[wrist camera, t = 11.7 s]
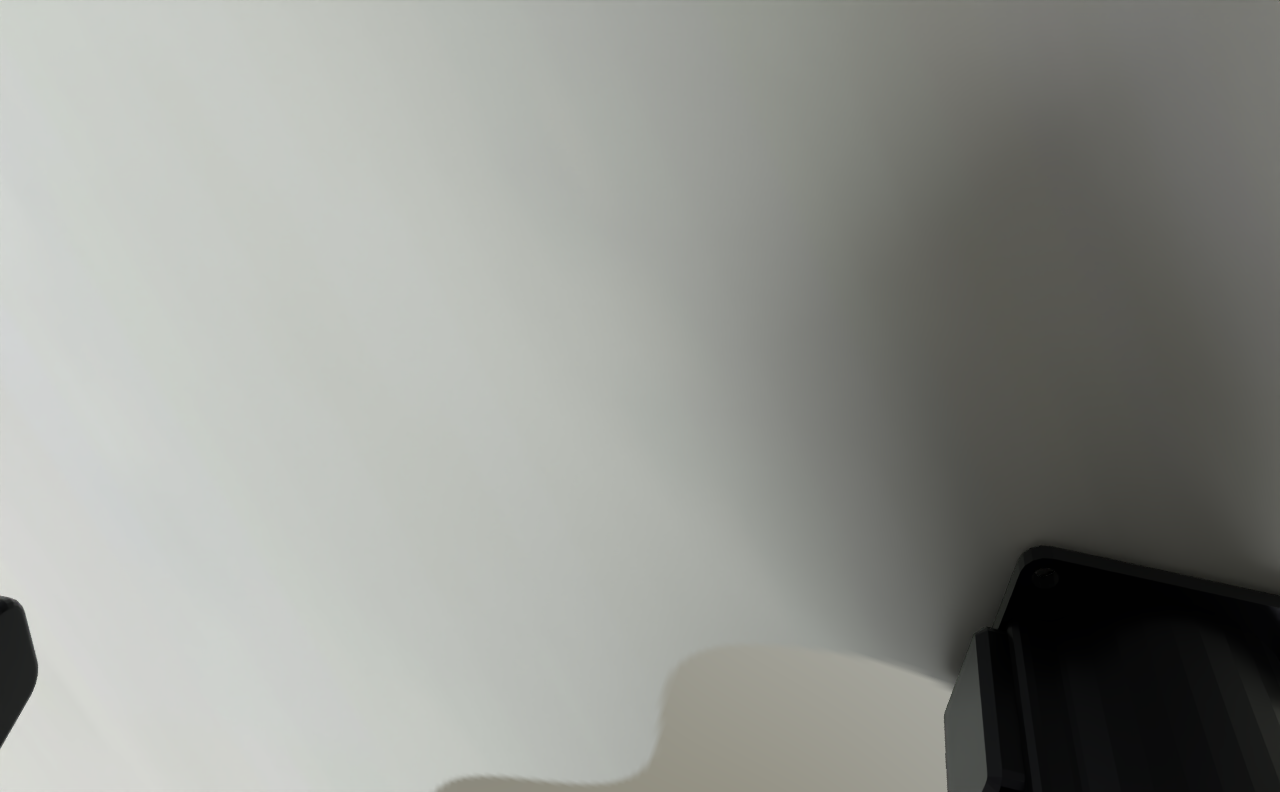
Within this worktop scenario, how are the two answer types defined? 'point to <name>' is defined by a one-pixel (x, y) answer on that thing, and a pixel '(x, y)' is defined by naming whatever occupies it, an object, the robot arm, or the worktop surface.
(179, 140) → the worktop surface
